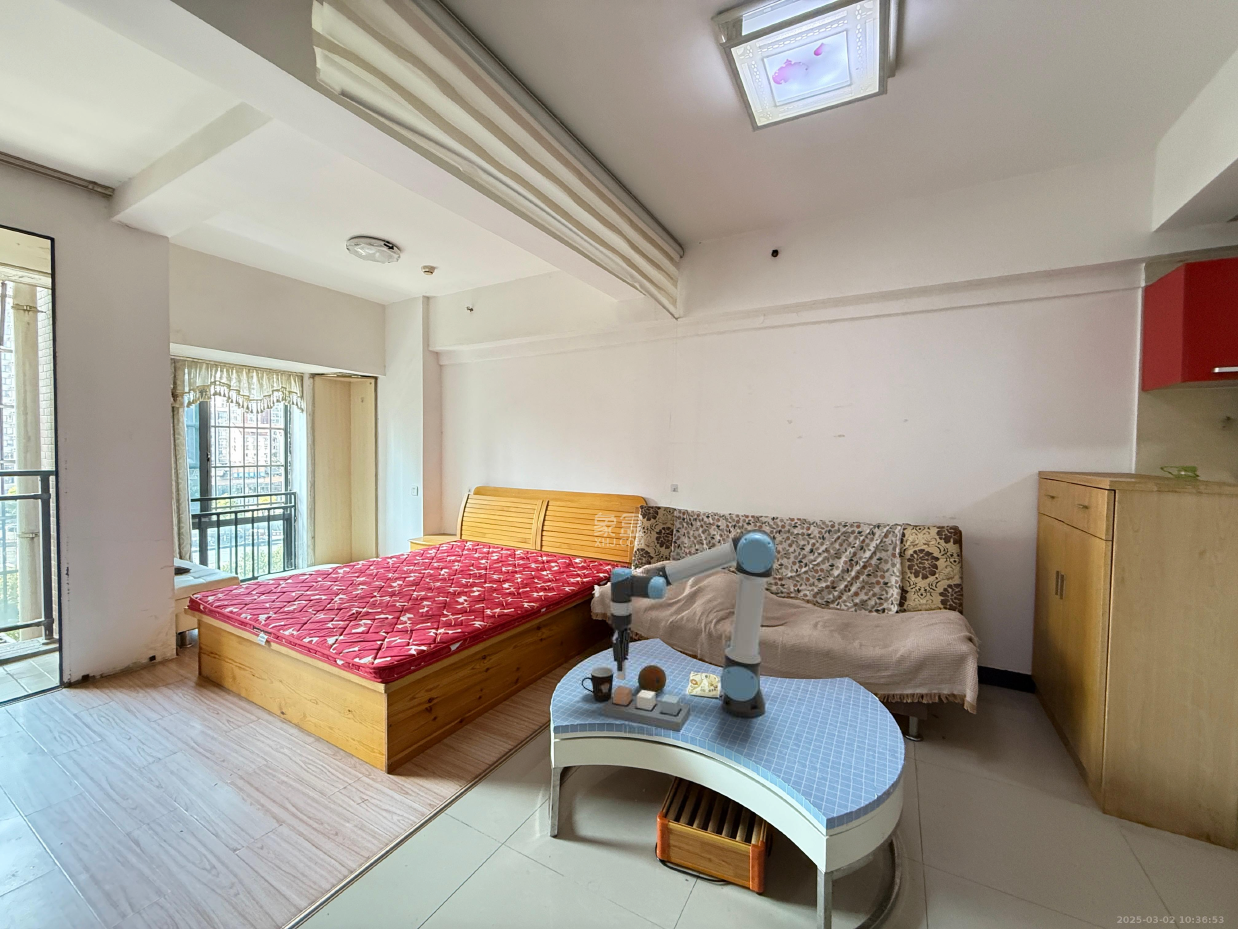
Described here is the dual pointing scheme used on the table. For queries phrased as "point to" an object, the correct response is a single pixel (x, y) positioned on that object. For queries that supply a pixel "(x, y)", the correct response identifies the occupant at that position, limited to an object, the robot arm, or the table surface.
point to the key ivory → (646, 700)
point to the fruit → (652, 678)
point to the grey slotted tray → (647, 714)
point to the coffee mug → (601, 683)
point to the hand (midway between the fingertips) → (621, 679)
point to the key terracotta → (622, 695)
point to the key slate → (671, 704)
